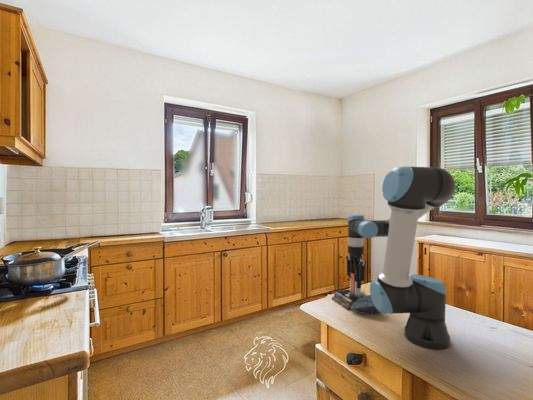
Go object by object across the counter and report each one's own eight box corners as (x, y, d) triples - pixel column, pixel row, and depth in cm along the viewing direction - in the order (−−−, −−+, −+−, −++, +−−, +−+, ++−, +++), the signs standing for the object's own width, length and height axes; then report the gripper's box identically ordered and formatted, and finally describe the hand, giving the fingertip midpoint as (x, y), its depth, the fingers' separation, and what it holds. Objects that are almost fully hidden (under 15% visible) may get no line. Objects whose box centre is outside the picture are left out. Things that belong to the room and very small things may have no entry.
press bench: (376, 306, 137) (376, 297, 137) (347, 310, 132) (347, 301, 132) (358, 296, 151) (358, 288, 151) (331, 299, 146) (332, 291, 146)
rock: (391, 318, 125) (385, 304, 134) (386, 302, 123) (380, 289, 133) (357, 326, 128) (353, 312, 138) (351, 310, 127) (348, 298, 136)
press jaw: (364, 301, 140) (365, 273, 140) (349, 303, 137) (349, 274, 137) (360, 298, 144) (360, 271, 144) (344, 300, 141) (344, 272, 141)
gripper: (373, 248, 133) (372, 297, 133) (352, 242, 149) (352, 286, 149) (359, 249, 131) (358, 299, 131) (340, 243, 147) (339, 288, 147)
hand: (355, 292), depth 140 cm, fingers closed on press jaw, 3 cm apart
